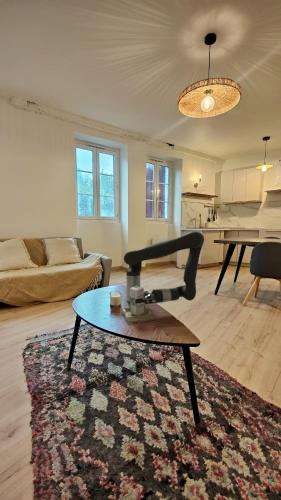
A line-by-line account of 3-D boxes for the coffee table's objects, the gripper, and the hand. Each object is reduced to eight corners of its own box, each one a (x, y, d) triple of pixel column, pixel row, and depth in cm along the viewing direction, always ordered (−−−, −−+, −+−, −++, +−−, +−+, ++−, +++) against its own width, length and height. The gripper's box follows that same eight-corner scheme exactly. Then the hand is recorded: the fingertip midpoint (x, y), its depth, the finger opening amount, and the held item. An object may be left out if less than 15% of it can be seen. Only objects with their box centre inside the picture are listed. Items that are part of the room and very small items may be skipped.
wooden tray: (121, 312, 126) (121, 307, 125) (145, 310, 130) (145, 305, 130) (127, 323, 113) (127, 317, 112) (153, 319, 117) (153, 314, 116)
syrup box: (144, 313, 121) (144, 287, 120) (137, 316, 117) (136, 289, 115) (136, 310, 125) (136, 285, 123) (129, 313, 121) (129, 288, 119)
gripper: (156, 285, 131) (130, 288, 126) (166, 293, 117) (137, 296, 112) (156, 298, 131) (130, 301, 127) (166, 306, 118) (137, 310, 113)
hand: (133, 298), depth 119 cm, fingers closed on syrup box, 8 cm apart
